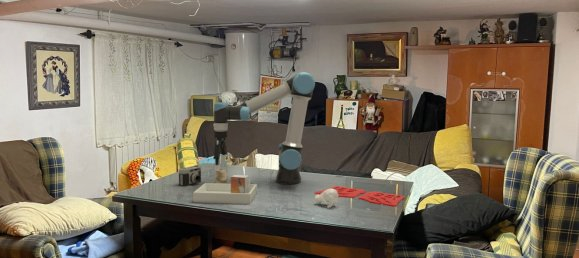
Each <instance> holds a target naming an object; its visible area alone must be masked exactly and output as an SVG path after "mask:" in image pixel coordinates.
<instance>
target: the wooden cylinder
mask: <svg viewBox="0 0 579 258" xmlns="http://www.w3.org/2000/svg"><path fill="white" fill-rule="evenodd" d="M227 170H228V169H225V168H220V171H215V183H222V184H228V183H227V181H228V179H227V177H228V176H227V175H228V173H227V172H228V171H227Z"/></svg>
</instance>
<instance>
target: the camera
mask: <svg viewBox="0 0 579 258" xmlns="http://www.w3.org/2000/svg"><path fill="white" fill-rule="evenodd" d="M199 182H200V183H202V167H201V165H191V166H187V167H183V168H179V169H178V186H180V187H188V186H192V185H195V184H198V183H199ZM200 183H199V184H200ZM191 184H192V185H191Z"/></svg>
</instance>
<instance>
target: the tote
mask: <svg viewBox="0 0 579 258" xmlns="http://www.w3.org/2000/svg"><path fill="white" fill-rule="evenodd" d="M257 194H258V184H257V183H255V184H254V183H253V184H252V183H249V193H231V183H227V184H222V183H216V182H214V183H213V182H205V183H203V184H202V185H200V187H198V188H197V189H196V190H195V191H193V193H192V195H193V200H192V201H193V203H195V204H223V205H224V204H225V205H229V204H233V205H251V204H252V202H253V201H254V200H255V198H256V196H257Z"/></svg>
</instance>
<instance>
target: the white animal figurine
mask: <svg viewBox="0 0 579 258" xmlns="http://www.w3.org/2000/svg"><path fill="white" fill-rule="evenodd" d="M326 189H327V190H325V189H324V190H325V191H324V192H323V193H321V194H320V195H319V194H315V197H314V201H315V202H316V204H317V205H321V204H322V203H323V204H325V205H327V206H326V207H327V208H328V209H330V208H332V207H334V206H335V205H336V204H337V202H338V201H339V197H338V196H339V195H340V194H339V195H338V193H337V191H336V190H335V189H328V188H326ZM328 202H330V203H329V204H328Z"/></svg>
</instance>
